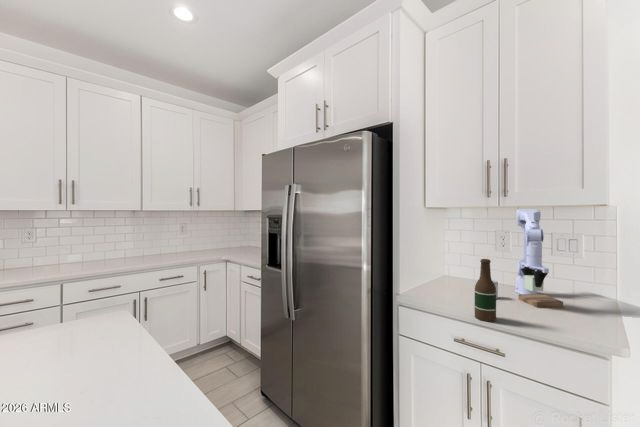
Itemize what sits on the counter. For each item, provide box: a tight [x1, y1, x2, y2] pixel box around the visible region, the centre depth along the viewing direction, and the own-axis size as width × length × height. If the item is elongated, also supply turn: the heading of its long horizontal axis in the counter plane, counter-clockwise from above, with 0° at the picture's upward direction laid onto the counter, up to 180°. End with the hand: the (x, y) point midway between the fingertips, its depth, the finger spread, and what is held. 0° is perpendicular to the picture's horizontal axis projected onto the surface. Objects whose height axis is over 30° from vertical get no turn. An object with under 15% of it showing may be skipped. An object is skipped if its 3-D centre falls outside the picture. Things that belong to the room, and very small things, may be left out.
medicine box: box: [477, 278, 499, 300], centre depth 150 cm, size 8×4×9 cm, turn 84°
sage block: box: [525, 275, 545, 292], centre depth 137 cm, size 5×5×6 cm
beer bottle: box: [474, 258, 497, 323], centre depth 121 cm, size 8×8×24 cm
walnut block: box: [518, 293, 564, 309], centre depth 140 cm, size 12×12×3 cm
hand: (533, 285), depth 137 cm, fingers closed on sage block, 5 cm apart
